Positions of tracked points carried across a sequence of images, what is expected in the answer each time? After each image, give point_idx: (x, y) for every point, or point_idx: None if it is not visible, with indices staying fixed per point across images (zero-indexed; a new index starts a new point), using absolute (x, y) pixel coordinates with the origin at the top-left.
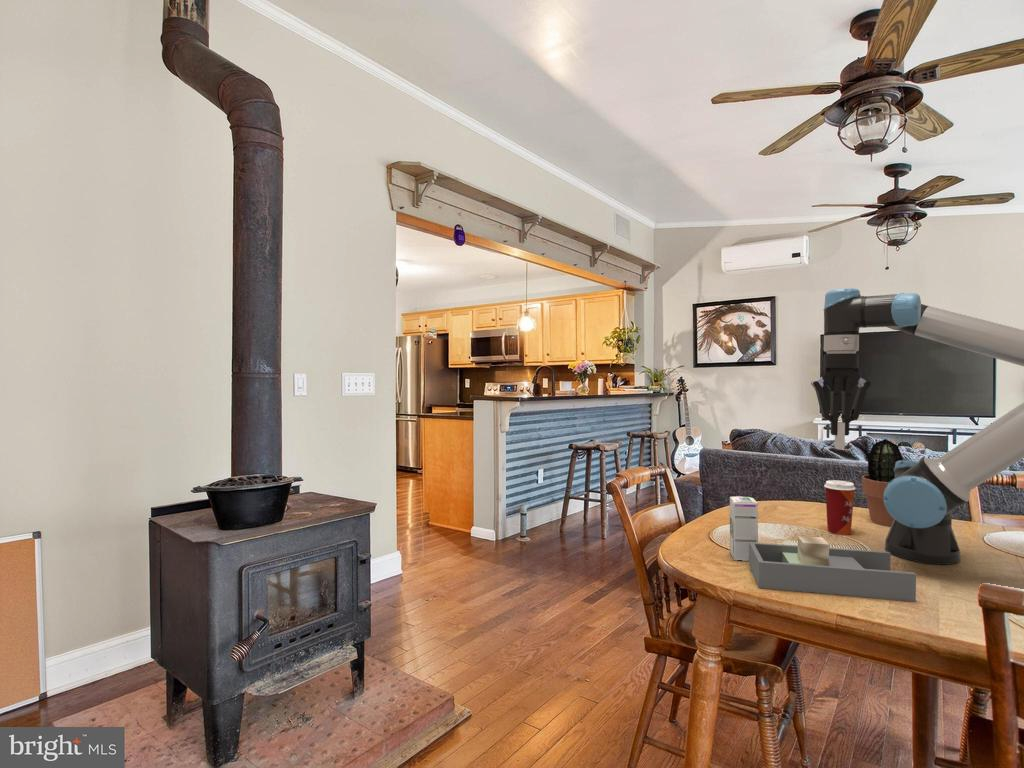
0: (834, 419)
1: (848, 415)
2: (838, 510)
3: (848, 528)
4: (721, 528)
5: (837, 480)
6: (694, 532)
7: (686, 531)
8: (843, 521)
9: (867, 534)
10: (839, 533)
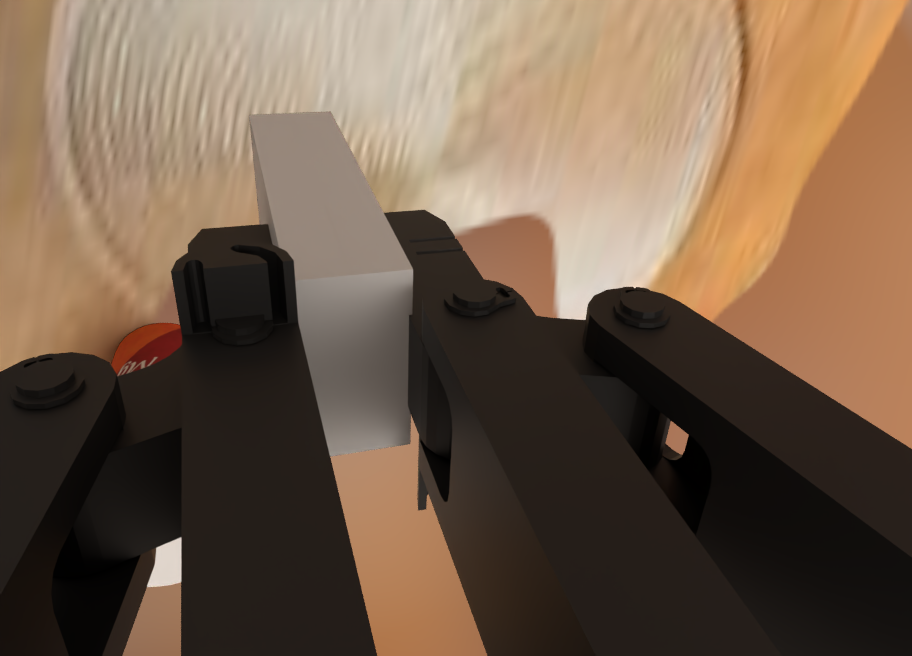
0: (499, 297)
1: (222, 395)
2: None
3: (125, 348)
4: (652, 255)
5: (162, 584)
6: (773, 163)
7: (799, 168)
8: (150, 356)
9: None
10: (169, 324)
